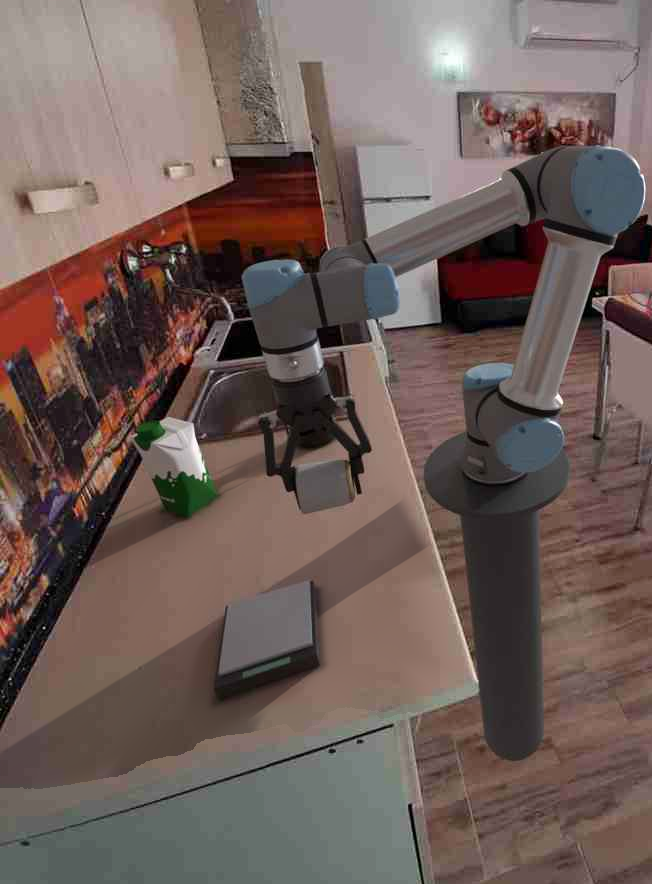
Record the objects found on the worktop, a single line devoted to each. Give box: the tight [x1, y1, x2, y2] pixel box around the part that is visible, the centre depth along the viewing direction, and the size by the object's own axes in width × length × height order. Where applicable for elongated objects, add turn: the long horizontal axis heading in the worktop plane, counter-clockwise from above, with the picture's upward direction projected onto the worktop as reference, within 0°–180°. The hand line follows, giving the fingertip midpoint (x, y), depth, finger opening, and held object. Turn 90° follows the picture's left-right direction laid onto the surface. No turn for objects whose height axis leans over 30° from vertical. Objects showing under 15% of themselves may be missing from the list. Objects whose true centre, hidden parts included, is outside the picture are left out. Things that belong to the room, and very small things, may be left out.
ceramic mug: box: [295, 459, 356, 515], centre depth 81 cm, size 11×8×8 cm
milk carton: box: [129, 416, 219, 518], centre depth 101 cm, size 9×9×20 cm
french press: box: [282, 421, 336, 449], centre depth 121 cm, size 12×9×23 cm
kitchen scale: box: [213, 579, 321, 701], centre depth 75 cm, size 13×14×3 cm
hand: (330, 496), depth 83 cm, fingers closed on ceramic mug, 8 cm apart
